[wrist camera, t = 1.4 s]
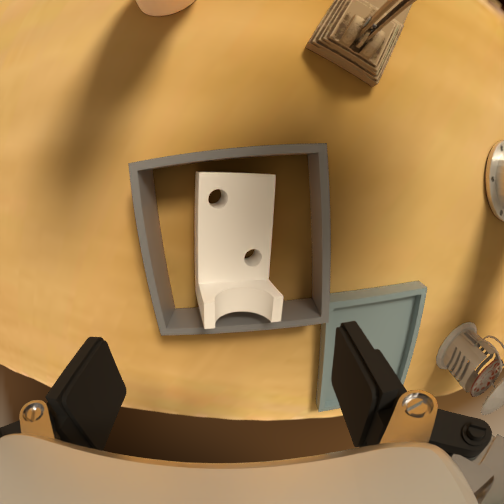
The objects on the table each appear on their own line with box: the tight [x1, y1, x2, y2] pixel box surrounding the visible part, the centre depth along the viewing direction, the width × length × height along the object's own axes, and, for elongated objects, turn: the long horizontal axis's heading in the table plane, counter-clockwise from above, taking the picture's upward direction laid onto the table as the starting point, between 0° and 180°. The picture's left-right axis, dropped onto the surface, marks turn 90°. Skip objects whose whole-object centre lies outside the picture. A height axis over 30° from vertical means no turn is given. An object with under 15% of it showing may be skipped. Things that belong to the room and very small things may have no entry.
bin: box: [129, 143, 331, 335], centre depth 27 cm, size 18×18×4 cm
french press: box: [436, 322, 504, 415], centre depth 24 cm, size 10×12×25 cm
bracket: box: [195, 171, 284, 329], centre depth 26 cm, size 13×7×8 cm, turn 177°
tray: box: [316, 281, 427, 412], centre depth 34 cm, size 14×19×2 cm
